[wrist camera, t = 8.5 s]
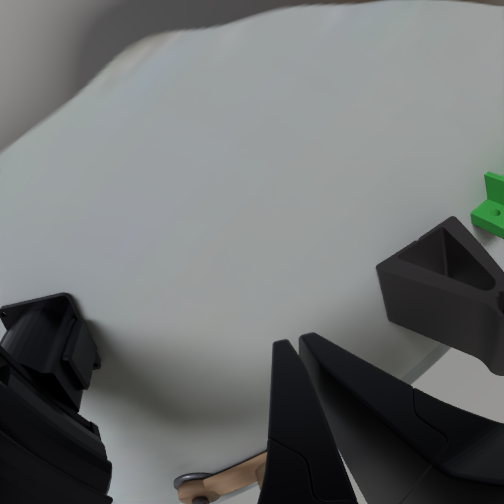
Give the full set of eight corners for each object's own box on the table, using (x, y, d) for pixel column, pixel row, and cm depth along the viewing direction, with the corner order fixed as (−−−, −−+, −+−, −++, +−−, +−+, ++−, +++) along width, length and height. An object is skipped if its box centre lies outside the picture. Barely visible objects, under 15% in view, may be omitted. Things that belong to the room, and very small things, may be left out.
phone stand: (386, 318, 26) (472, 409, 15) (374, 266, 23) (484, 360, 13) (457, 268, 26) (547, 333, 16) (452, 215, 24) (562, 274, 13)
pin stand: (181, 493, 31) (186, 524, 27) (167, 476, 29) (171, 511, 25) (223, 486, 32) (231, 517, 28) (213, 469, 30) (221, 503, 26)
